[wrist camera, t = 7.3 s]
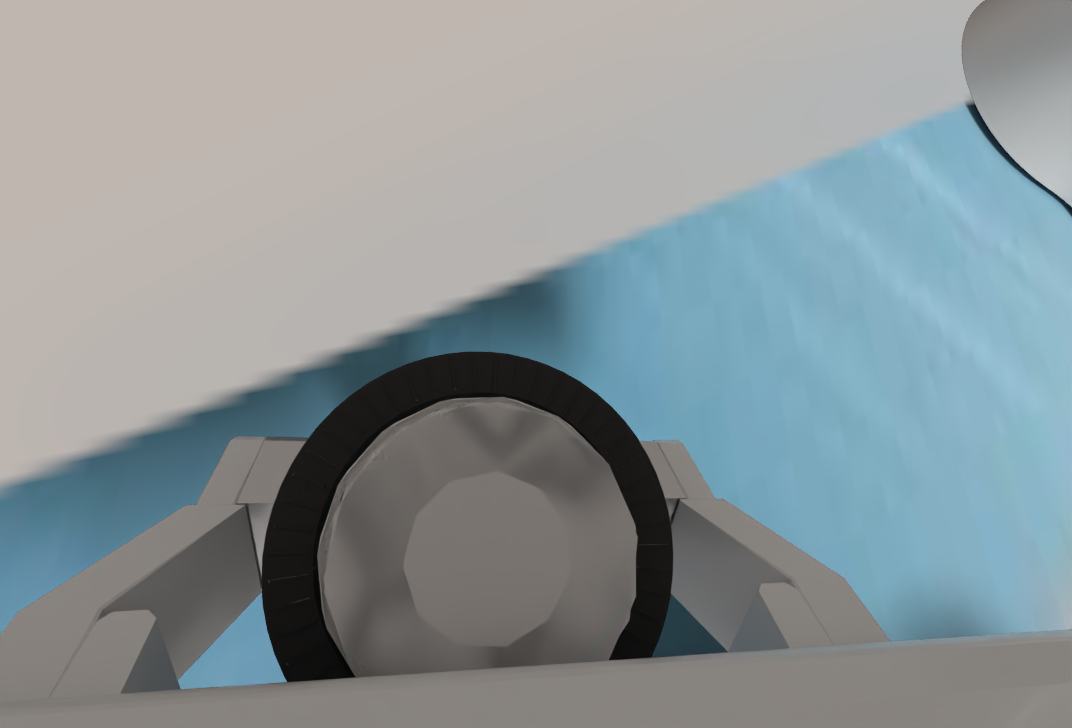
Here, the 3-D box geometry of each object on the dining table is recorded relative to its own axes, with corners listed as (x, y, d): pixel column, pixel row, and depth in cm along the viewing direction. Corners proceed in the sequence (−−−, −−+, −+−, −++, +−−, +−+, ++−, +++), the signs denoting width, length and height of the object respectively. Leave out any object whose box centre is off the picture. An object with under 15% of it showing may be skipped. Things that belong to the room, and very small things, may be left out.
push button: (291, 460, 15) (66, 400, 6) (451, 358, 17) (481, 176, 7) (426, 665, 15) (421, 970, 5) (579, 540, 16) (790, 600, 7)
